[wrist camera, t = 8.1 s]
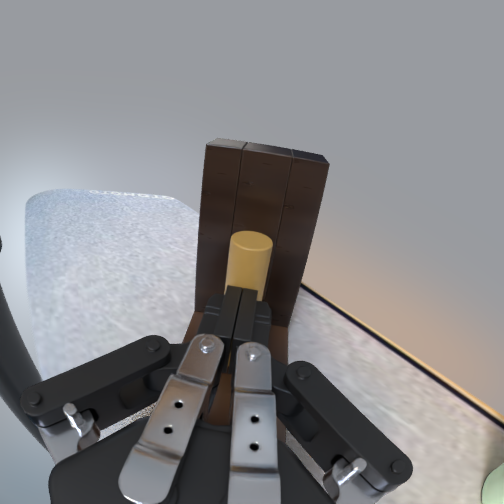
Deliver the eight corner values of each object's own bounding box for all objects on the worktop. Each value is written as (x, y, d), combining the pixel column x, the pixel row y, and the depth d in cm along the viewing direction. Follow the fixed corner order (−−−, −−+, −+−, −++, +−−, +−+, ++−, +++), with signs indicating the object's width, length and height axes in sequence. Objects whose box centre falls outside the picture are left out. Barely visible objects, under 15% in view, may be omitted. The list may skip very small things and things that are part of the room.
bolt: (248, 370, 17) (272, 252, 13) (215, 364, 17) (227, 245, 13) (256, 309, 22) (275, 207, 18) (230, 304, 22) (243, 202, 18)
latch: (277, 484, 12) (407, 274, 6) (147, 460, 12) (82, 219, 6) (284, 313, 25) (321, 154, 19) (203, 299, 25) (218, 137, 19)
